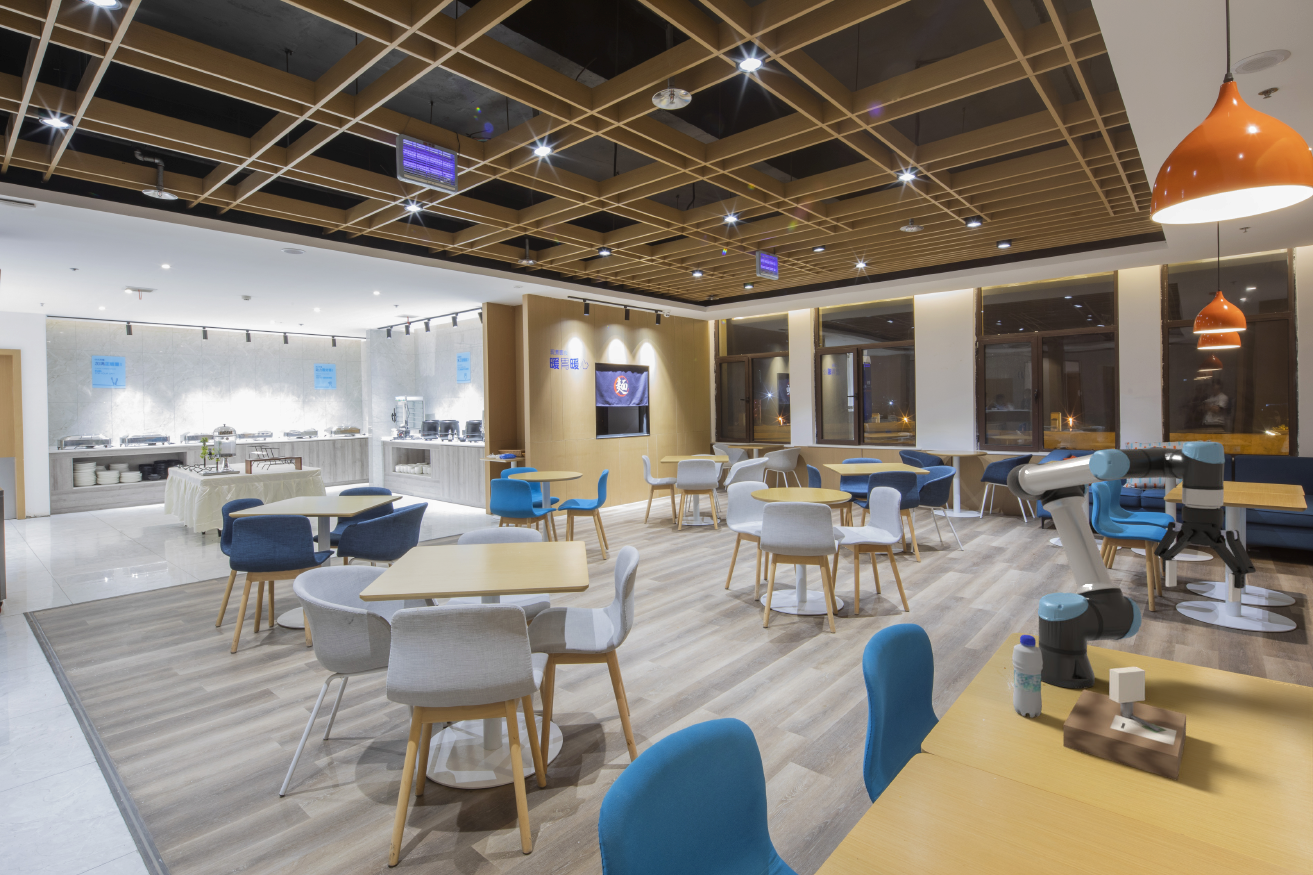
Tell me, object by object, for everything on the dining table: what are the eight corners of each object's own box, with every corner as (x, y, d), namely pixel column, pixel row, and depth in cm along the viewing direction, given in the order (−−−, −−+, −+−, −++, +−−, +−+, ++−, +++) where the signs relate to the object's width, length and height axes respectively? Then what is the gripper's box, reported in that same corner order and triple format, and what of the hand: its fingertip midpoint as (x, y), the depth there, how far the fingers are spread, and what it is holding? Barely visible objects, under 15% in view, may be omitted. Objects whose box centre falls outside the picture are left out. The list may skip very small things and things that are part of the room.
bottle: (1034, 707, 161) (1034, 630, 160) (1048, 719, 154) (1048, 640, 153) (1007, 706, 161) (1007, 630, 161) (1019, 719, 155) (1019, 639, 154)
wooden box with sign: (1063, 745, 142) (1063, 724, 142) (1083, 708, 159) (1083, 689, 159) (1177, 780, 128) (1177, 756, 128) (1185, 735, 146) (1186, 713, 145)
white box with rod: (1145, 733, 137) (1145, 685, 136) (1109, 714, 146) (1109, 668, 145) (1172, 730, 138) (1172, 682, 138) (1135, 711, 147) (1135, 666, 146)
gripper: (1277, 512, 138) (1275, 606, 139) (1159, 498, 162) (1158, 578, 163) (1254, 514, 136) (1252, 610, 137) (1137, 500, 160) (1137, 581, 161)
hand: (1201, 593), depth 150 cm, fingers open, 13 cm apart
